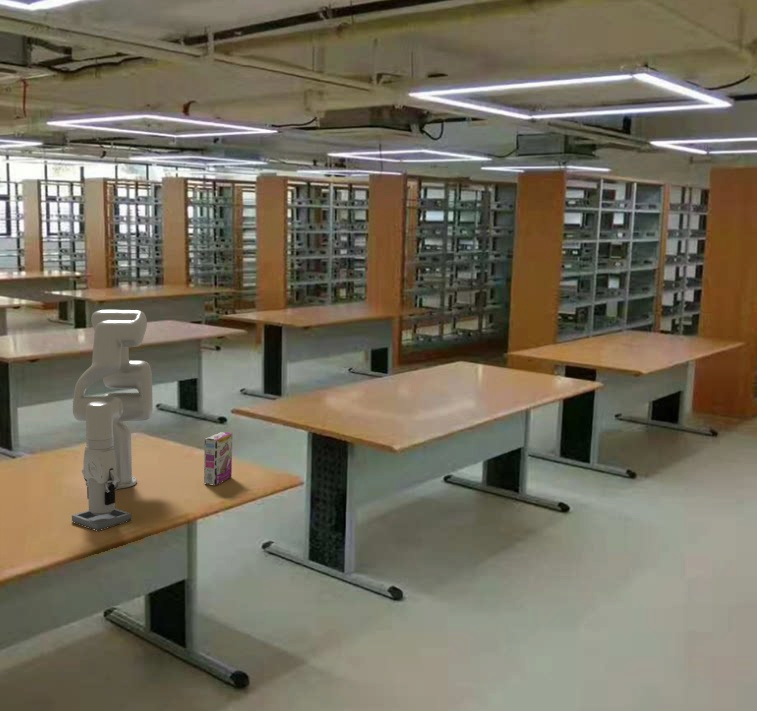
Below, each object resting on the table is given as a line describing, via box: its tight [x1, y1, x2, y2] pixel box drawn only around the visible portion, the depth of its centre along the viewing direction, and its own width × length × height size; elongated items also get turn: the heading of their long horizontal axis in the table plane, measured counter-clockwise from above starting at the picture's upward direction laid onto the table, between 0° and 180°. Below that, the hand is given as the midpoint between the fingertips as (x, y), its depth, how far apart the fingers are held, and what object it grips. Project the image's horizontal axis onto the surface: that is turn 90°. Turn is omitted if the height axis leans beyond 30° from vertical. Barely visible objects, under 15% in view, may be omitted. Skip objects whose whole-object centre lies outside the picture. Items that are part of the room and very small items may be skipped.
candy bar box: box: [203, 431, 233, 486], centre depth 290 cm, size 11×5×16 cm, turn 161°
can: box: [87, 476, 116, 515], centre depth 248 cm, size 8×8×12 cm
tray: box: [71, 507, 132, 532], centre depth 249 cm, size 12×12×2 cm
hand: (101, 500), depth 248 cm, fingers closed on can, 7 cm apart
